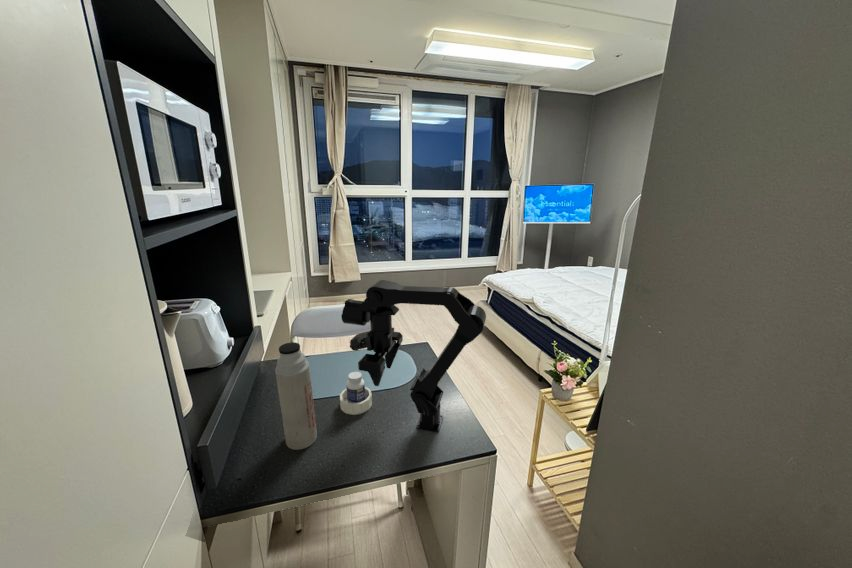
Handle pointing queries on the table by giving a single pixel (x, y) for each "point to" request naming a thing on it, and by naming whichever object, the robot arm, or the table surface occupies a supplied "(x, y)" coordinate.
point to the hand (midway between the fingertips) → (382, 376)
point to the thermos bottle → (295, 397)
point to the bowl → (355, 407)
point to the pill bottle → (355, 388)
